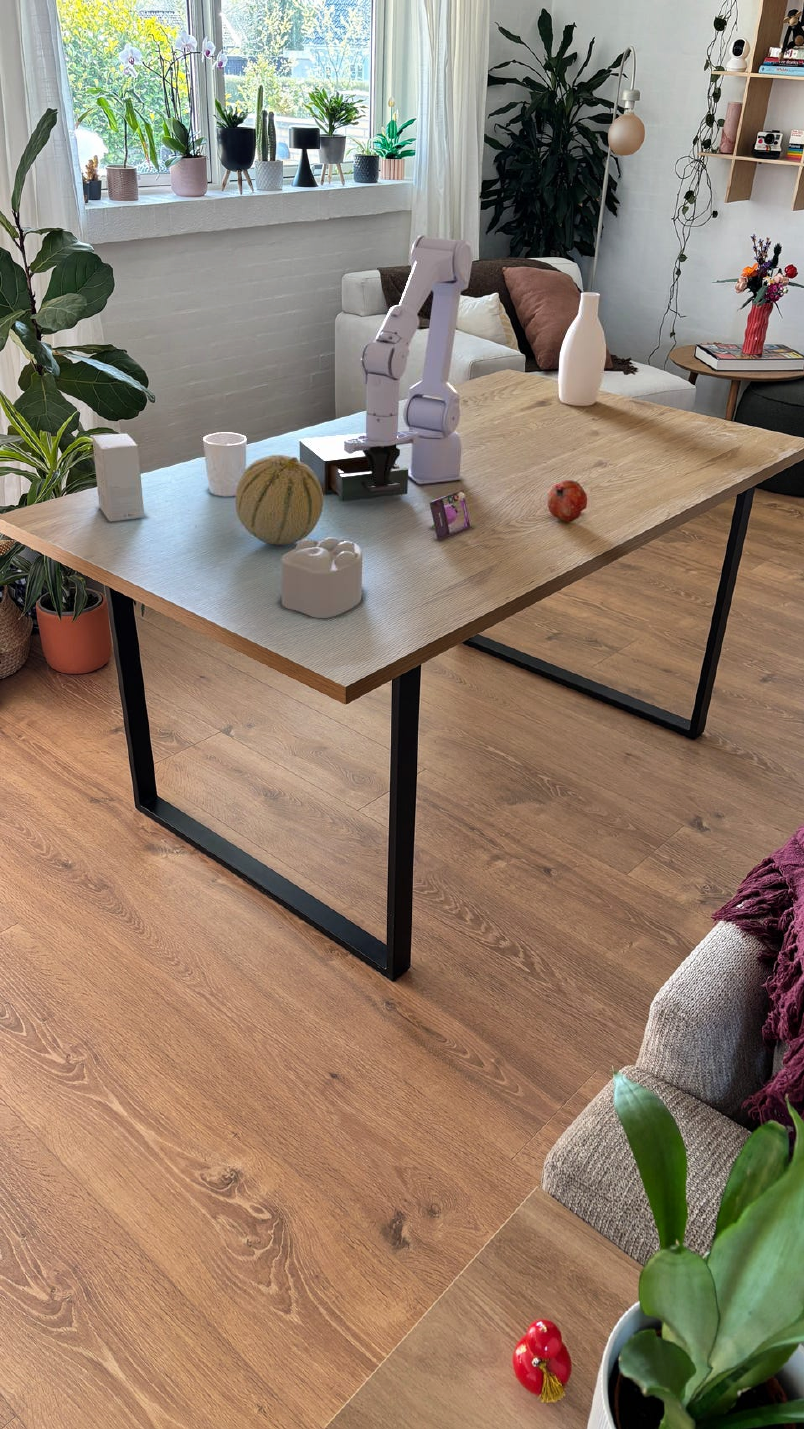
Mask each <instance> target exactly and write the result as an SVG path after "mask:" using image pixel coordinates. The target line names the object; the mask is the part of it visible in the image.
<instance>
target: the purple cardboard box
mask: <svg viewBox="0 0 804 1429" xmlns="http://www.w3.org/2000/svg"><path fill="white" fill-rule="evenodd" d="M445 499H447V500H446V501H447V502H448V504H447V505H445V503H444V500H445ZM458 501H459V502H460V504H461V508H462V509H461V510H462V514H463V517H464V522H463V523H462V526H463V527H461V528H458V529H456V530H453V531H450V527H449V526H450V525H451V524H453V523H454V522H455V521H456V520H457V519H458V518H460V516H459V514H458V513H461V510H459V509H457V505H456V504H453V503H456V502H458ZM429 507H430V511H431V517H432V522H433V524H432V525H431V529H434V531H435V534H436V535H435V536H436V539H437V541H441V540H443V539H445V538H448V537H451V536H453V535H455V534H458V533H460V532H463V531H464V530H467V529H469V528H471V522H470V516H469V512H468V508H467V501H466V494H465V493H464V490H463V489H460V490H458V491H455V492H452V493H450V494H447V495H444V496H442V497H439V498H437V499H436V498H435V499H434V500H432V501H429Z"/></svg>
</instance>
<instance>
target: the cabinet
mask: <svg viewBox="0 0 804 1429" xmlns="http://www.w3.org/2000/svg"><path fill="white" fill-rule="evenodd" d="M365 434H366V432H365V433H355V434H346V435H345V434H344V435H334V436H333V435H332V436H324V437H313V438H304V439H299V442H298V443H299V461H300V462H302V463H304V464H305V465H307V466H308V467H309V468H310V469H311V470H312V471H313V472H314V474H315V475H316V477H317V479H318V481H319V483H320V486H321V489H322V493H323V495H331V494H338V493H337V492H336V491H335V490H334V489H332V488H331V487H330V486H329V485H328V472H329V464H335V463H344V462H353V461H363V460H367V458H366V456H365V454H364V452H363V450H362V451H356V452H354V453H351V454H349V453H347V452H345V451H344V440H349V439H352V438H355V437H359V436H362V435H365Z"/></svg>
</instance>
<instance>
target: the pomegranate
mask: <svg viewBox="0 0 804 1429" xmlns="http://www.w3.org/2000/svg"><path fill="white" fill-rule="evenodd" d="M546 502H547V509H548V511H549V513H550V514H551V515H552V517H555V518H556V519H559V520H561V521H563V522H566V523H567V522H569V523H571V522H573V521H575V520H577V519H578V518H579V517H580V516H581V515H582V512H583V511H584V510H585V509H586V508H587V506H588V495H587V493H586V491H585V490H584V488H583V486H581V484H580V483H579V482H577V481H575V480H574V479H567V480H566V479H565V480H563V481H561V482H559V483H558V484H557V483H556V484H554V485H553V486H552V487H551V489H550V491H549V494H548V496H547V501H546Z"/></svg>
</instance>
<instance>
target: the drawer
mask: <svg viewBox="0 0 804 1429" xmlns="http://www.w3.org/2000/svg"><path fill="white" fill-rule="evenodd" d="M408 469H409V468H407V467H400V466H399V465H398V464H396V462H395V463H394V465H393V467H392V470H391V472H390V475H389V478H388V482H387V485H381V486H375V485H374V481H373V476H372V472H371V468H370V465H369V463H368V460H363V461H353V462H344V463H335V464H329V472H328V485H329V486H330V487H331V488H332V489H334V490H335V491H336V492H337V493H336V494H338V495H339V501H340V502H341V503H344V502H351V501H352V502H353V501H360V500H361V501H362V500H369V499H377V498H378V499H379V498H385V497H393V496H402V495H408V490H409V489H408V488H409V477H408Z"/></svg>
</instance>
